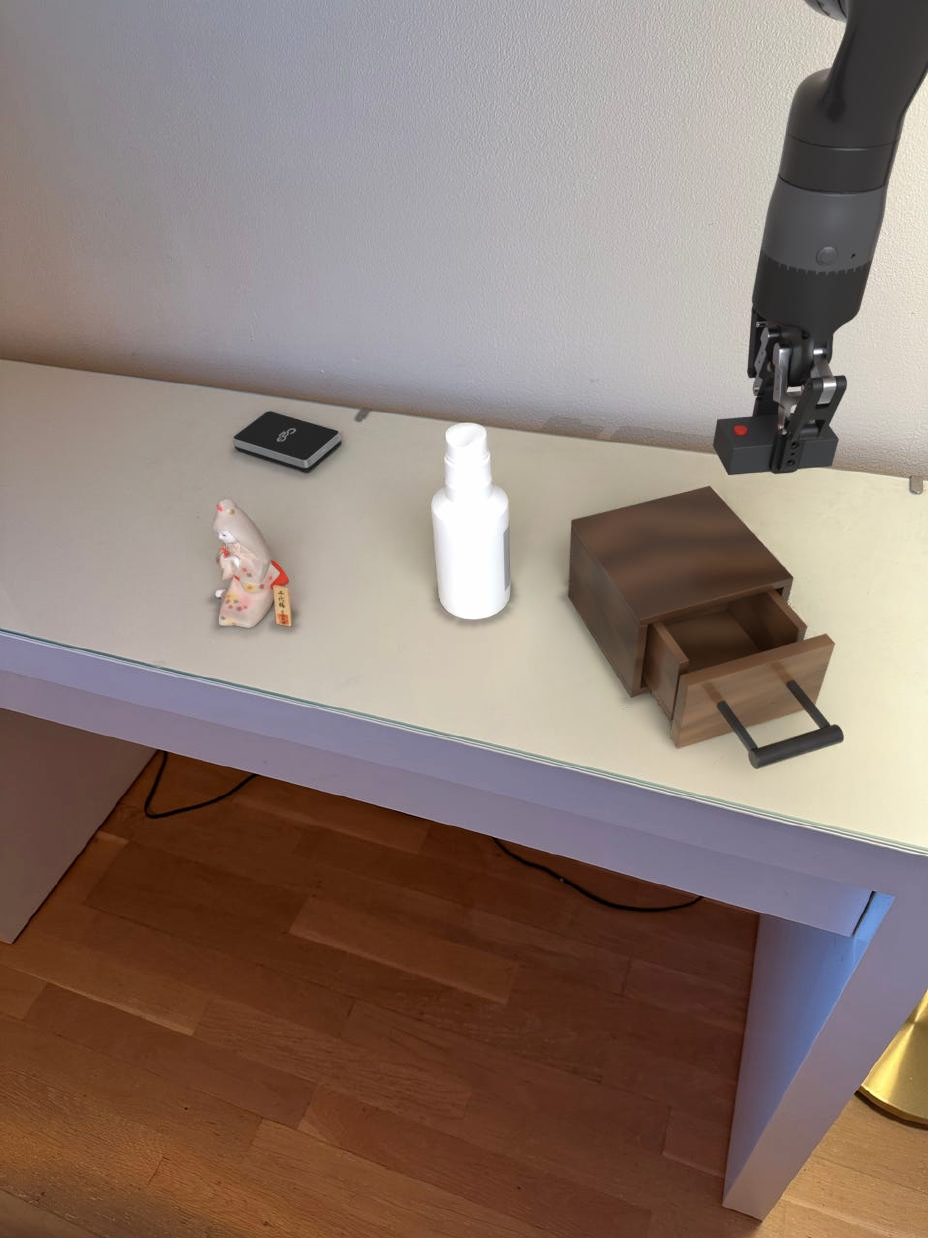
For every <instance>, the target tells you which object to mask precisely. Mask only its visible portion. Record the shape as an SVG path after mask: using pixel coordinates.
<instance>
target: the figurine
mask: <svg viewBox="0 0 928 1238" xmlns="http://www.w3.org/2000/svg"><path fill="white" fill-rule="evenodd" d="M212 529H213V530H214V531H215V532H216V533H217V536H218V538H219V539H220V541H222V543H221V546H220V548H219V550H218V552H217V555H216V557H215V562H216V565H217V567H219V568H220V569H221V570H220V580H223V581H224V580H229V579H231V581H229V583H230V584H229V586H228V588H227V589H225V588H223V589H217V590H216V591H215V597H216V598H221V602H220V610H219V613H218V625H219V626H222V627H224V626H225V627H226V626H237V627H241V628H245V629H246V628H247V629H251V628H254V627H255V626H256V625H258V624H259V623H260V622H261V621H262V620H263V619H264V618H265V616H266V615H267V614H268V613H269V612H270V609H271V607H272V606H273V603H274V612H275V623H276V624H277V625H279V626H284V627H285V626H286V627H289V628H290V627H291V628H292V625H293V622H292V621H293V620H292V619H293V618H292V615H293V611H292V609H291V608H292V606H291V594H290V587H288V586H285V585H288V584H289V583H290V578H289V577H288V575H287V573H286V571H285V570H284V569H283V567H282V566H281V565H280V564H279V563H278V562H277V561H276V560H272V552H271V548H270V546H269V544H268V542H267V540H266V539H265V536H264V535H263V534H262V532H261V530H260V529H259V527H258V526H257V524H256V523H255V522H254V521H253V519H252V518H251V517H250V516H249V515H248V514H247V513H246V512H245V511H244V510H243V509H242V508H241V507H239V506H237V503H236V502H235V500H234V499H232V498H230V497H224V498H222V499H220V500H219V501H218V502H217V504H216V513H215V515H214V517H213V519H212Z"/></svg>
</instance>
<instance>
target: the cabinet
mask: <svg viewBox="0 0 928 1238" xmlns="http://www.w3.org/2000/svg"><path fill="white" fill-rule="evenodd" d="M569 538H570V539H569V568H568V569H569V570H568V592H567V595H568V596H567V597H568V599H569V600H570V602H571V603H572V605H573V607H574V608H575V610H576V612H577V613H578V614H579V616H580V618H581V619H582V621H583V624H585V626H586V627H587V629H588V631H589V632H590V634H591V635H592V637H593V639H594V640H595V642H596V644H597V645H598V646H599V649H600V650H601V652H602V653H603V655H604V657H605V658H606V659H607V661H608V663H609V664H610V666H611V668H612V669H613V671H614V673H615V674H616V676H617V677H618V679H619V681H620V682H621V684H622V685H623V687H624V689H625V690H626V692H627V693H628V695H629V697H630V698H634V697H638V696H642V695H645V694H649V693H652V691H651V690H650V688H649V687H648V685H647V684H646V682H645V681H644V679H643V678H642V669H643V661H644V653H645V644H646V636H647V628H648V624H650V623H654V622H658V621H661V620H665V619H669V618H672V617H676V616H679V615H683V614H687V613H690V612H694V611H698V610H701V609H705V608H709V607H712V606H716V605H719V604H723V603H727V602H730V601H734V600H738V599H741V598H745V597H748V596H752V595H756V594H759V593H763V592H767V591H770V590H774V589H775V590H776V591H777V592H778V593H779V594H780V596H781V597H782V598H783V599H784V600H785V601H786V602H787V604H789V599H790V598H789V597H790V595H791V592H792V591H791V590H792V587H793V584H794V583H793V582H794V579H795V577H794V576H793V575H792V573H791V572H789V570H788V569H787V568H786V567H785V566H784V565H783V564H782V562H780V561H779V560H778V559H777V557H776V556H775V555H774V554H773V553H772V552H771V550H769V548H768V547H767V546H766V545H765V544H764V543H763V542H762V541H761V539H760V538H759V537H758V536H756V534H755V533H754V532H753V531H752V530H751V529H750V528H749V527H748V525H747V524H746V523H744V521H743V520H742V519H741V518H740V516H739V515H737V514H736V513H735V511H734V510H733V509H732V507H730V506H729V505H728V504H727V503H726V502H725V500H723V498H722V497H721V496H720V495H719V493H717V492H716V491H715V489H714V488H713V487H712V486H711V485H707V486H702V487H700V488H695V489H690V490H687V491H683V492H678V493H675V494H671V495H667V496H662V497H660V498H654V499H651V500H647V501H643V502H639V503H635V504H630V505H625V506H623V507H619V508H615V509H610V510H605V511H602V512H598V513H594V514H589V515H586V516H583V517H582V516H581V517H578V518H574V519H571V521H570V537H569Z"/></svg>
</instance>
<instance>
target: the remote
mask: <svg viewBox="0 0 928 1238" xmlns="http://www.w3.org/2000/svg"><path fill="white" fill-rule="evenodd" d="M793 413H794V412H790V419H791V418H792V415H793ZM777 422H778V414H774V415H763V416H752V415H751V416H742V417H741V416H740V417H739V416H738V417H730V418H729V417H728V418H727V417H726V418H718V419H717V420H716V424H715V425H716V426H715V430H714V435H713V436H714V438H713V443H712V447H713V449H714V451H715V453H716V455H717V457H718V459H719V461H720V462H721V464H722V466H723V468H724V470H725V473H726V474H727V475H728V476H736V475H749V474H750V475H751V474H759V473H772V472H771V470H770V468H769V462H770V457H771V452H772V448H773V443H774V438H775V433H776V430H777ZM839 440H840V439H839V437H838V435H837V434H836V433H835V431H834V430H833V428H831V426H830V425H829V426H828V429H827V431H826V433H825V435H824V437H823V438H817V439H806V440H805V444H804V448H803V452H802V456H801V460H800V464H799V468H798V470H805V469H816V468H817V469H818V468H828V467H832V466H833V462H834V459H835V455H836V451H837V448H838V444H839Z"/></svg>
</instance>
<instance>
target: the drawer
mask: <svg viewBox="0 0 928 1238" xmlns="http://www.w3.org/2000/svg"><path fill="white" fill-rule="evenodd" d="M807 629H808V625H807V624H806V622H804V621H803V620H802V618H801V617H800V615H798V614H797V613H796V612H795V610H794V609H793V608H792V607H791V606H790V604H789V603H787V602H786V601H785V600H784V599H783V598H782V597H781V596H780V594H779V593H778V592H777V591H776V590H775V589H774V590H770V591H767V592H763V593H759V594H756V595H752V596H748V597H745V598H741V599H738V600H734V601H730V602H727V603H723V604H719V605H716V606H712V607H709V608H705V609H701V610H698V611H694V612H690V613H687V614H683V615H679V616H676V617H672V618H669V619H665V620H661V621H658V622H654V623H650V624H648V628H647V636H646V644H645V653H644V661H643V669H642V678H643V679H644V681H645V682H646V684H647V685H648V687H649V688H650V690H651V691H652V692H651V693H652V695H653V696H654V698H655V700H656V701H657V702H658V704H659V706H660V707H661V709H662V710H663V711H664V713H665V714H666V716H667V718H668V719H669V721H670V722H672V725H671V731H670V737H669V738H670V740H671V742H672V744H673V745H674V746H675V748H676V749H677V750H678V749H681V748H685V747H688V746H691V745H695V744H698V743H701V742H704V741H708V740H711V739H714V738H717V737H718V738H719V737H720V736H724V735H727V734H731V733H733V732H734V734H735V735H736V736H737V738H738V740H739V741H740V742H741V744H742V745H743V746H744V748H745V749H746V750H747V752H748V754H747V755H748V761H749V764H750V765H751V766H752V768H754V769H755V770H760V769H762V768H766V767H769V766H773V765H776V764H778V763H781V762H785V761H787V760H792V759H794V758H797V757H800V756H803V755H807V754H809V753H813V752H817V751H820V750H822V749H826V748H829V747H833V746H835V745H838V744H841V743H843V742H844V739H845V735H844V731H843V730H842V727H841V726H839V725H838V724H835V723H834V724H831V723H830V722H829V721H828V719H827V718H826V717H825V716H824V714H822V712H821V711H820V710H819V708H818V707H817V702H818V698H819V696H820V693H821V690H822V687H823V683H824V679H825V676H826V674H827V670H828V667H829V664H830V662H831V659H832V655H833V652H834V648H835V646H836V642H835V641H834V640H833V639H832V638H831V636H829V635H828V634H827V633H822V634H819V635H816V636H813V637H810V638H806V639H805V637H806V633H807ZM802 711H805V712H806V713H807V714H808V715H809V717H810V718H811V719H812V720H813V722H814V723H815V724H816V726H817V727H818V729H817V728H816V729H814V730H811V731H808V732H805V733H802V734H798V735H795V736H792V737H789V738H785V739H783V740H779V741H776V742H773V743H770V744H767V745H762V746H760V747H759V746H758V744H757V743H756V742H755V740H754V739H753V738H752V736H751V735H750V733H749V732H748V730H747V728H750V727H753V726H756V725H760V724H763V723H766V722H770V721H773V720H777V719H779V718H783V717H786V716H789V715H792V714H795V713H796V714H797V713H799V712H802Z"/></svg>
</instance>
